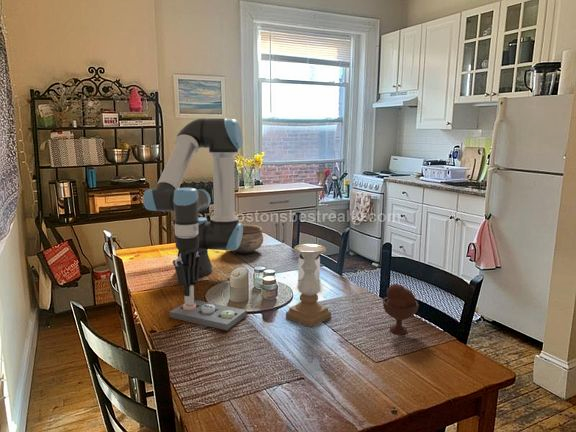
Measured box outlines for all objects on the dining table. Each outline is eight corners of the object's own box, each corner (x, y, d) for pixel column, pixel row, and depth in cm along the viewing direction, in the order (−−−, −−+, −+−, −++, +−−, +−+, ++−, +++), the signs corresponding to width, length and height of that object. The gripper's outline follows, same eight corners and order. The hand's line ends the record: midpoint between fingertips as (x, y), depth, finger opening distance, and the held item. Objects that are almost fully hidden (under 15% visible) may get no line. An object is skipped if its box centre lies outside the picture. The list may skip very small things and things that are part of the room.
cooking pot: (217, 248, 229) (217, 225, 227) (251, 244, 238) (251, 221, 236) (236, 261, 208) (236, 236, 206) (272, 256, 217) (272, 231, 215)
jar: (323, 280, 184) (324, 252, 182) (308, 284, 179) (309, 255, 176) (308, 274, 191) (309, 247, 188) (294, 278, 186) (294, 250, 183)
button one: (218, 321, 143) (218, 313, 143) (225, 316, 147) (225, 308, 147) (229, 324, 142) (229, 316, 141) (237, 318, 145) (237, 311, 145)
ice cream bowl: (397, 341, 131) (400, 293, 128) (373, 326, 141) (375, 281, 138) (424, 334, 136) (427, 288, 133) (399, 320, 146) (402, 277, 143)
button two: (180, 313, 149) (180, 305, 149) (188, 308, 153) (188, 301, 153) (191, 315, 148) (190, 307, 147) (199, 310, 152) (198, 303, 151)
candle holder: (331, 317, 148) (333, 247, 143) (310, 327, 140) (311, 254, 136) (306, 308, 155) (307, 241, 151) (285, 317, 148) (285, 247, 143)
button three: (198, 315, 146) (198, 307, 146) (206, 310, 150) (206, 302, 150) (210, 317, 144) (209, 309, 144) (217, 312, 148) (217, 305, 148)
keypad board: (169, 317, 147) (169, 311, 146) (192, 304, 157) (191, 299, 157) (227, 330, 138) (226, 324, 137) (246, 315, 148) (246, 310, 148)
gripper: (184, 241, 138) (186, 312, 142) (208, 232, 150) (209, 299, 154) (164, 238, 141) (167, 308, 146) (189, 230, 153) (192, 295, 157)
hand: (189, 303), depth 150 cm, fingers closed
